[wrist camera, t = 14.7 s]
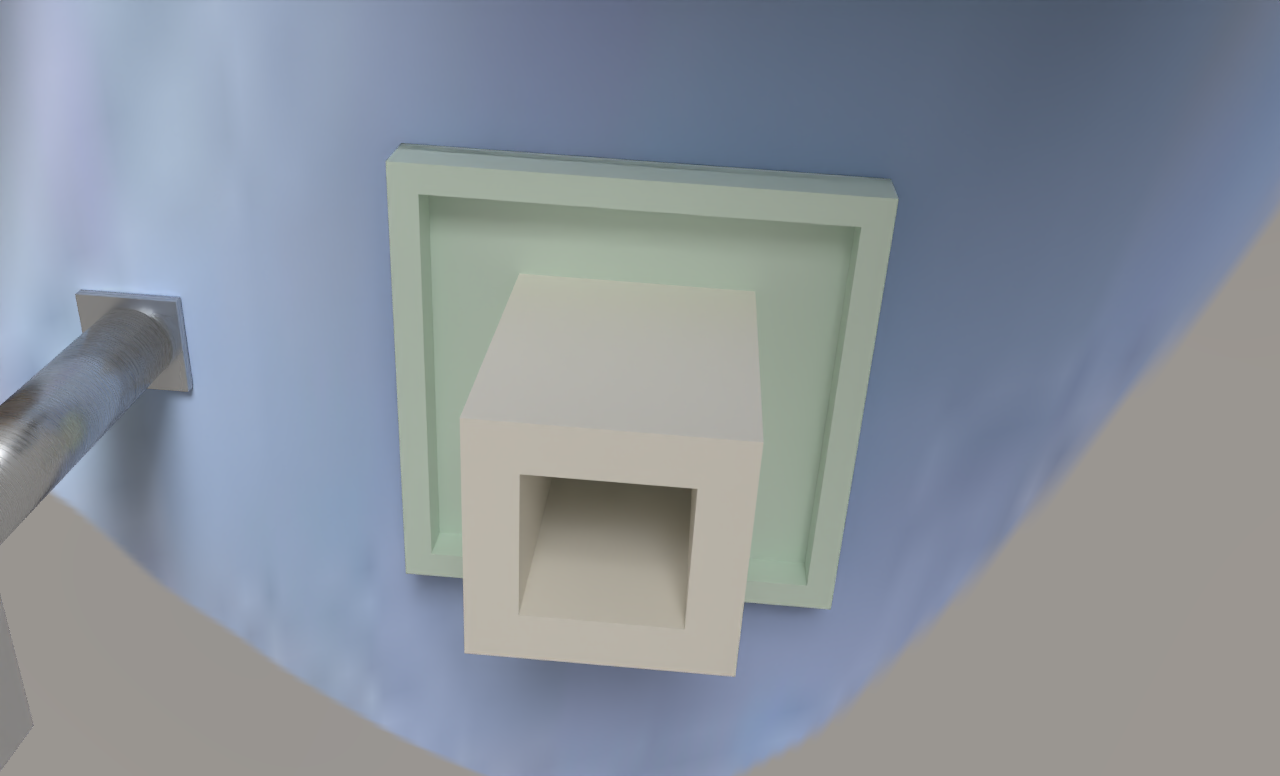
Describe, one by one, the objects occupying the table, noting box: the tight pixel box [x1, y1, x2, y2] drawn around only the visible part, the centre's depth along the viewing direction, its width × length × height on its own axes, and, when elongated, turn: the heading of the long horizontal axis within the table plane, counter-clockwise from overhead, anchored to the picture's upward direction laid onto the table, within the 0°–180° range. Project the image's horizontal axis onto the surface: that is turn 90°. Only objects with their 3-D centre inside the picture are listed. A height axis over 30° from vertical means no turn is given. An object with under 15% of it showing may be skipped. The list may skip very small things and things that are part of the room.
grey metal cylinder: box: [0, 290, 193, 545], centre depth 37 cm, size 4×4×12 cm
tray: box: [386, 143, 899, 609], centre depth 41 cm, size 16×16×2 cm
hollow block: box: [460, 273, 764, 677], centre depth 37 cm, size 8×8×10 cm
